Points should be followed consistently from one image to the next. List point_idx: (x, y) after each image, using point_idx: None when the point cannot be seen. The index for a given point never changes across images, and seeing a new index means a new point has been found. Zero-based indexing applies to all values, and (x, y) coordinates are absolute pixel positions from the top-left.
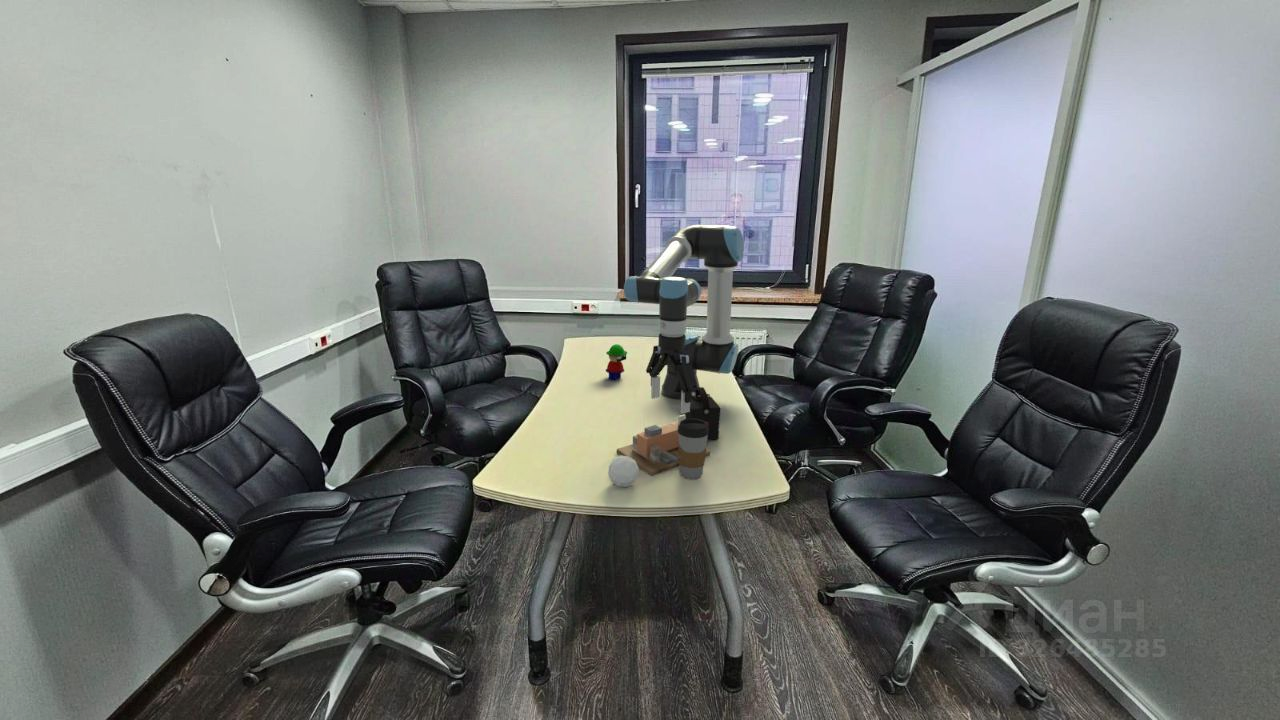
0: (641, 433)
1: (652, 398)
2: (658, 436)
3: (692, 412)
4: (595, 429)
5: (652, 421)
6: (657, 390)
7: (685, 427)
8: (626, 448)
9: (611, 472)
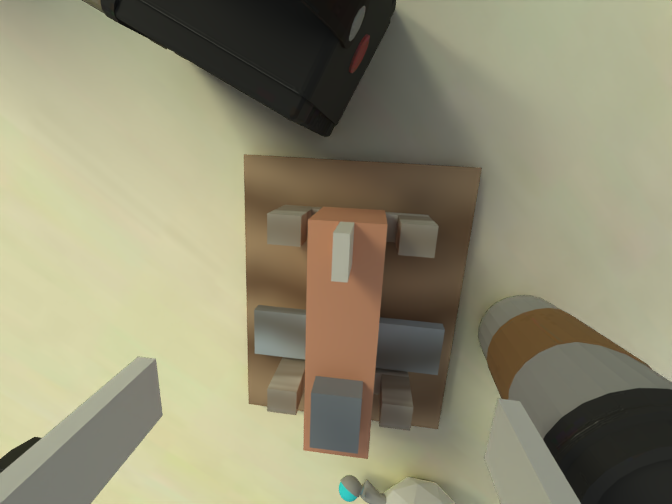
0: (309, 436)
1: (159, 416)
2: (372, 403)
3: (303, 117)
4: (77, 341)
5: (95, 130)
6: (114, 422)
7: None
8: (263, 381)
9: None
